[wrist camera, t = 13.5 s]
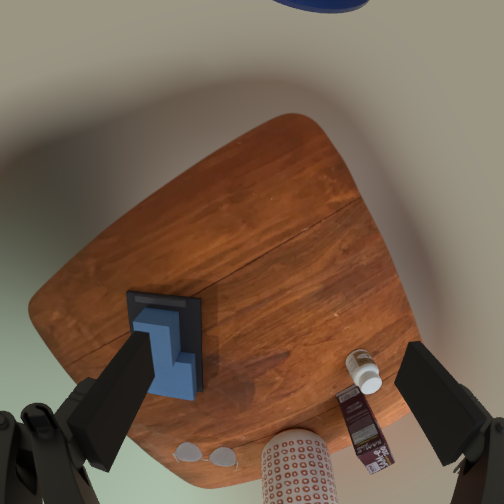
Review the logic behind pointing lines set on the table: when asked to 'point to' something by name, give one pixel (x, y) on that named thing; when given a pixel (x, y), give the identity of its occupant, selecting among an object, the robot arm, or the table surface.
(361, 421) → the supplement box
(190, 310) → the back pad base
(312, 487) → the white patterned vase
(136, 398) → the robot arm
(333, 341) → the table surface
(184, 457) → the sunglasses
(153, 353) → the blue block
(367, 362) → the pill bottle
